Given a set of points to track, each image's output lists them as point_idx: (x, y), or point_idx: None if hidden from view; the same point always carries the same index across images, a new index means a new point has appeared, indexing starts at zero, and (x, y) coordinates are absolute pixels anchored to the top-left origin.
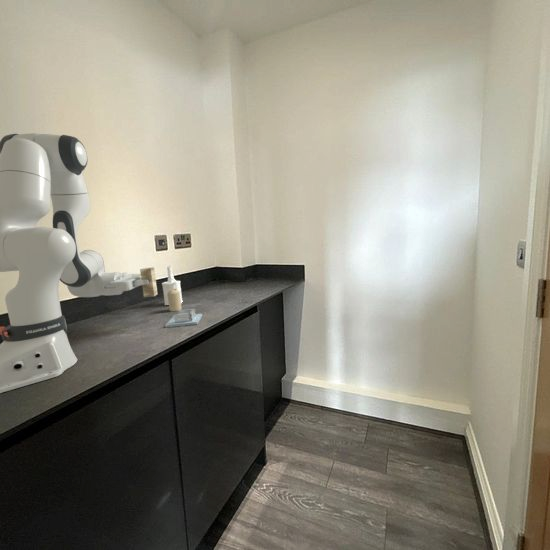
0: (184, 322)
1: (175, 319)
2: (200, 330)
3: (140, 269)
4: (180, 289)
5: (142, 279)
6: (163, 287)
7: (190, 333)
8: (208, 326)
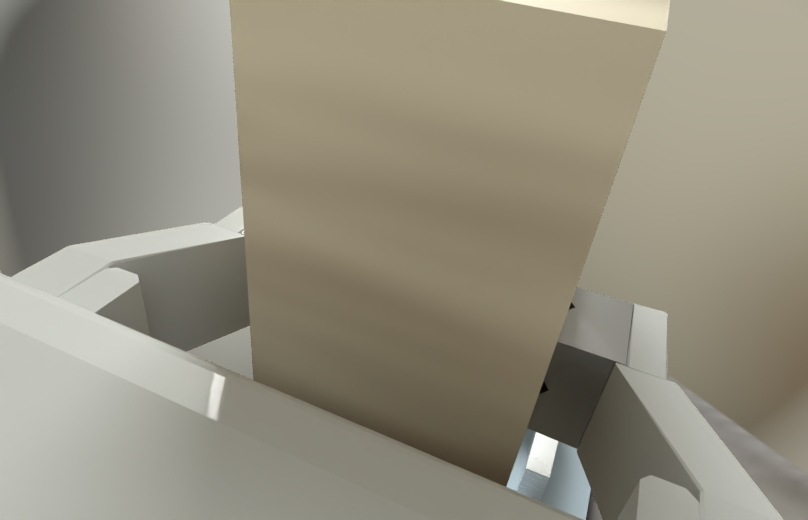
0: (573, 460)
1: (539, 495)
2: (743, 431)
3: (660, 36)
4: None
5: (541, 371)
6: None
7: (797, 492)
8: (672, 379)
